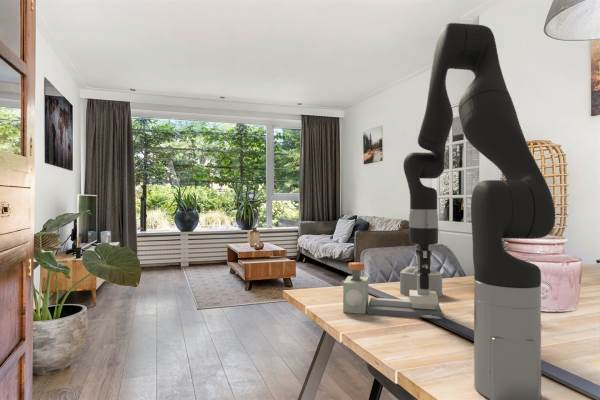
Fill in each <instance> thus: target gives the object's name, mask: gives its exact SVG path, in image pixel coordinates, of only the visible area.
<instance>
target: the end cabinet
mask: <svg viewBox="0 0 600 400" xmlns="http://www.w3.org/2000/svg"><path fill="white" fill-rule="evenodd" d="M342 284H343V288H342V290H343V292H342V293H343V295H342V297H343V301H342V306H343V307H342V309H343V310H342V312H343V313H347V314H348V313H352V314H364V315H366V313H367V308H368V305H369V285H370V284H369V276H360V281H352V275H348V276H347V277H346V278H345V280H344V281H343V283H342Z"/></svg>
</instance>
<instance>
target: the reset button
mask: <svg viewBox="0 0 600 400" xmlns="http://www.w3.org/2000/svg"><path fill="white" fill-rule="evenodd" d="M348 270H350V271H352V275H351V276H352V281H360V277H361V271H364V270H365V263H364V262H358V261H355V262H353V261H352V262H348Z"/></svg>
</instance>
